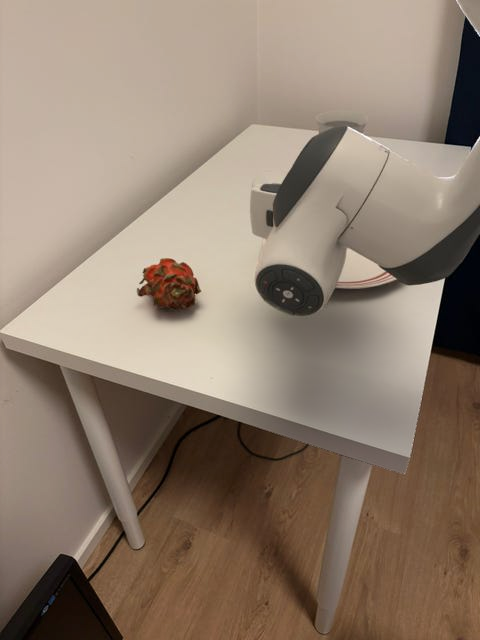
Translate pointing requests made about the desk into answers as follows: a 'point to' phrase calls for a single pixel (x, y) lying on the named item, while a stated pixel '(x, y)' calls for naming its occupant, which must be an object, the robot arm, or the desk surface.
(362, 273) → the dinner plate
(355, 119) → the chalice
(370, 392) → the desk surface
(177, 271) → the dragon fruit
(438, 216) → the robot arm
